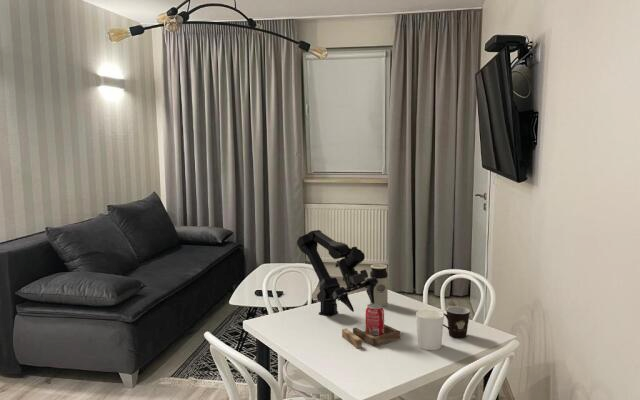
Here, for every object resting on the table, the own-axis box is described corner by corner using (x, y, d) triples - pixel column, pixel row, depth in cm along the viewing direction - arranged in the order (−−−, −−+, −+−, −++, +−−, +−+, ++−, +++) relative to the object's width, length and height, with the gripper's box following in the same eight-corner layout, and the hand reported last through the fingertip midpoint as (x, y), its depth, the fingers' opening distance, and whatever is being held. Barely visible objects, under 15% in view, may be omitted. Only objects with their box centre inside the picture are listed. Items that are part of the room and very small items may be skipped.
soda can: (378, 331, 189) (378, 301, 188) (387, 338, 183) (387, 307, 181) (362, 334, 186) (362, 304, 185) (371, 341, 180) (371, 310, 179)
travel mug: (370, 301, 228) (370, 263, 226) (387, 301, 227) (387, 264, 225) (370, 306, 220) (370, 268, 218) (387, 307, 219) (387, 268, 218)
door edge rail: (361, 347, 175) (361, 339, 175) (356, 348, 175) (356, 340, 174) (346, 335, 186) (346, 328, 186) (342, 336, 185) (342, 329, 185)
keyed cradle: (352, 335, 186) (352, 328, 186) (378, 328, 193) (378, 321, 193) (374, 346, 176) (374, 339, 176) (400, 338, 183) (400, 331, 182)
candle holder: (427, 353, 170) (428, 320, 168) (410, 343, 178) (410, 312, 177) (449, 348, 174) (449, 315, 173) (431, 338, 183) (431, 307, 181)
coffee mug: (470, 333, 188) (471, 308, 187) (467, 341, 180) (468, 315, 179) (440, 328, 193) (440, 304, 192) (436, 336, 185) (436, 310, 184)
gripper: (332, 271, 188) (347, 308, 182) (374, 258, 194) (390, 294, 188) (326, 281, 197) (340, 317, 191) (366, 269, 204) (381, 303, 198)
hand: (363, 307), depth 192 cm, fingers open, 9 cm apart
